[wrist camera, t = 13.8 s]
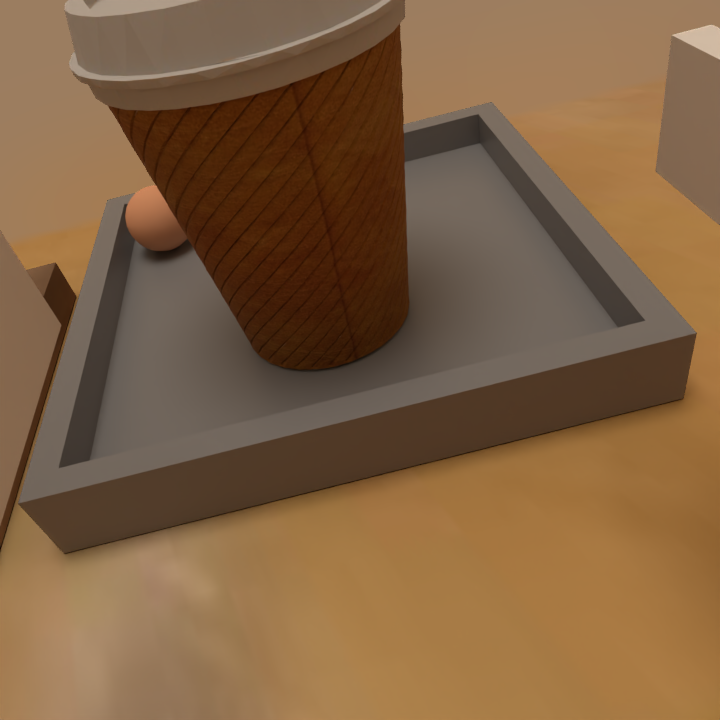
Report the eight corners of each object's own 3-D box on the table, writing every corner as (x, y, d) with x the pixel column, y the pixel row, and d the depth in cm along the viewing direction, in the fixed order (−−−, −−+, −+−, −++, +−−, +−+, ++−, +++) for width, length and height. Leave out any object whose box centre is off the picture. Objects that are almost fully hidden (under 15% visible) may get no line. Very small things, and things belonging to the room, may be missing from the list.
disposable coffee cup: (237, 259, 29) (120, -44, 21) (450, 231, 28) (408, -110, 20) (178, 416, 22) (-27, 53, 14) (458, 393, 21) (398, -36, 13)
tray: (64, 553, 21) (17, 503, 19) (129, 244, 35) (107, 200, 33) (683, 398, 20) (696, 333, 19) (494, 152, 35) (491, 101, 33)
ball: (138, 270, 30) (109, 213, 28) (144, 237, 32) (118, 183, 30) (201, 254, 30) (176, 196, 28) (202, 222, 32) (180, 167, 30)
